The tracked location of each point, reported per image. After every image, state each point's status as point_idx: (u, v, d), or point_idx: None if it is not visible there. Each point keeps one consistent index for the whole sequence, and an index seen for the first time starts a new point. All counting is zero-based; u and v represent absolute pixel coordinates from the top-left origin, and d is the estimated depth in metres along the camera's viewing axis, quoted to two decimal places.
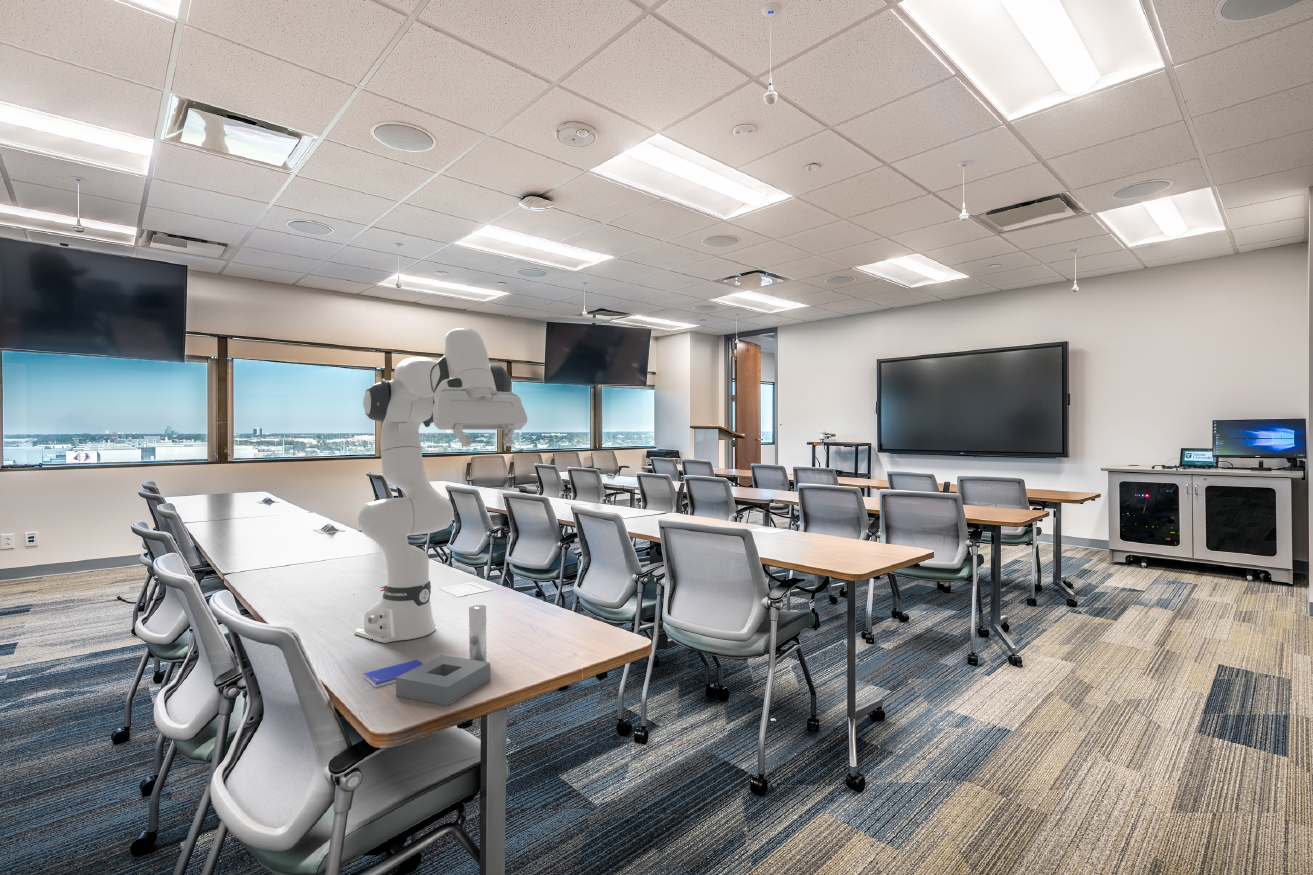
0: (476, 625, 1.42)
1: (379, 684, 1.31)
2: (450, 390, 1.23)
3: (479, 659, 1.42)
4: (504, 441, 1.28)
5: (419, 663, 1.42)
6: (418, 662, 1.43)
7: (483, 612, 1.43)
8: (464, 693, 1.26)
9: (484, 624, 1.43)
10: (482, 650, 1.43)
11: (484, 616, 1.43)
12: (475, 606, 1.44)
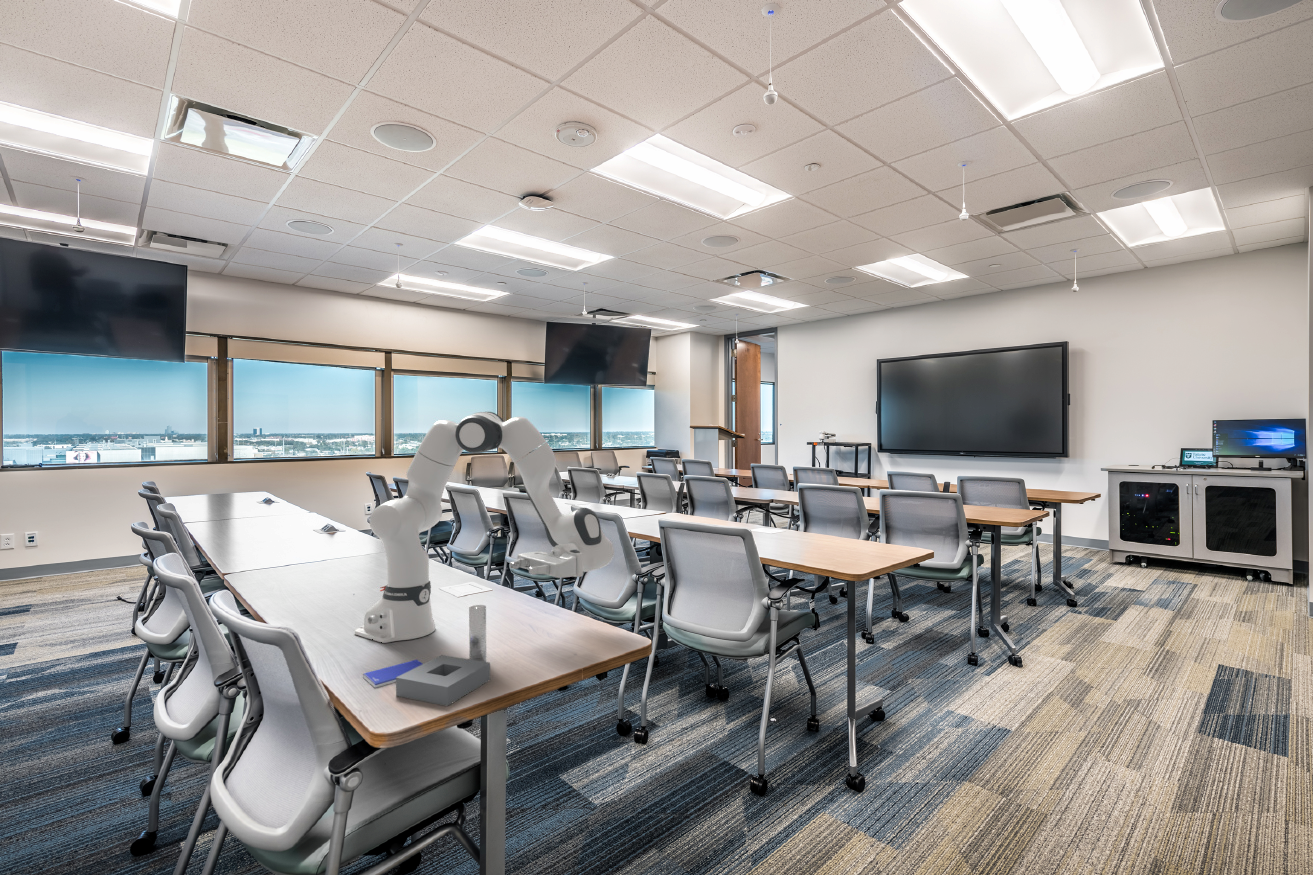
0: (476, 625, 1.42)
1: (379, 685, 1.31)
2: None
3: (479, 659, 1.42)
4: (515, 564, 1.56)
5: (419, 663, 1.42)
6: (418, 662, 1.43)
7: (483, 612, 1.43)
8: (464, 693, 1.26)
9: (484, 624, 1.43)
10: (482, 650, 1.43)
11: (484, 616, 1.43)
12: (475, 606, 1.44)
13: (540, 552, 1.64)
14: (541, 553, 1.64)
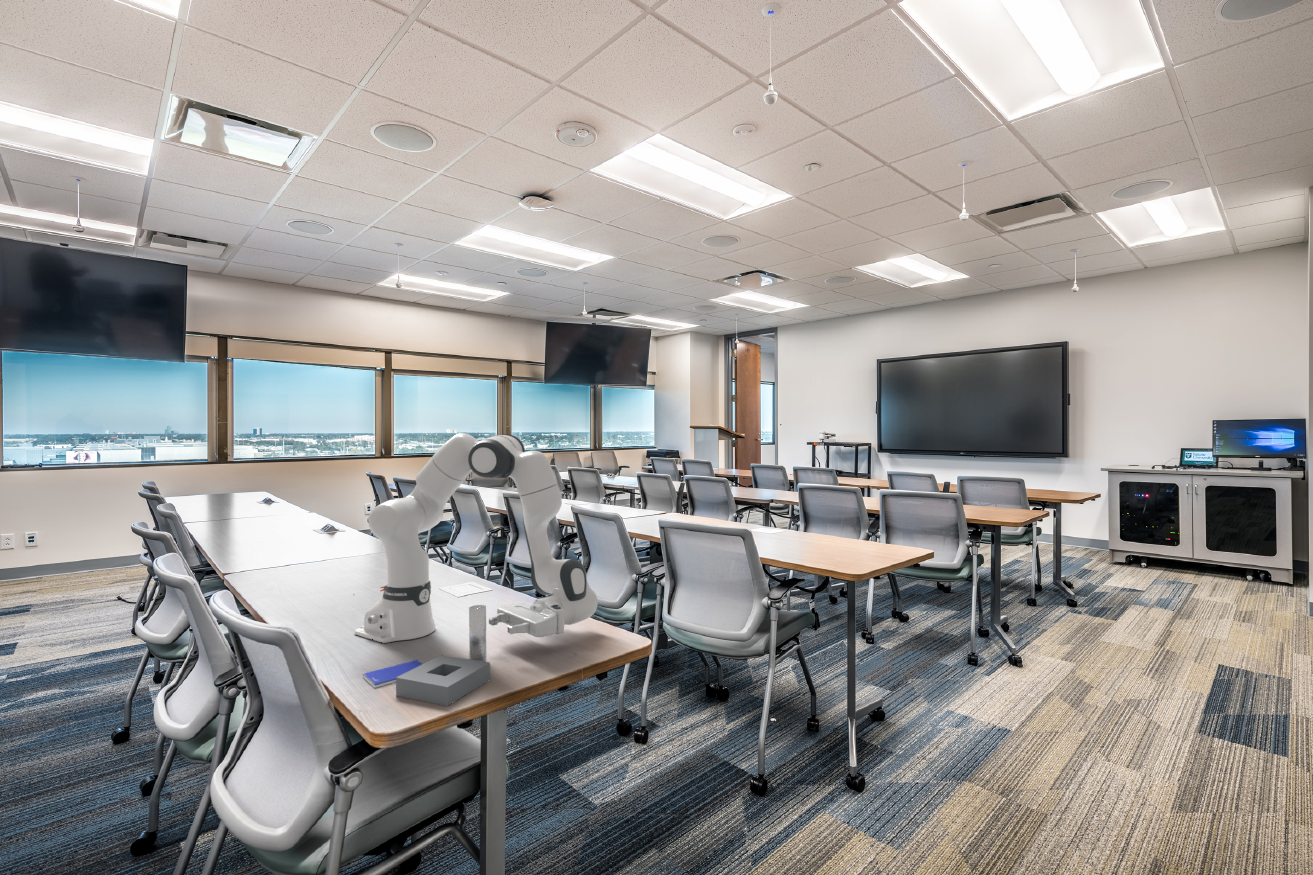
0: (476, 625, 1.42)
1: (378, 685, 1.31)
2: None
3: (479, 659, 1.42)
4: (495, 620, 1.52)
5: (419, 663, 1.42)
6: (418, 662, 1.42)
7: (483, 612, 1.43)
8: (464, 693, 1.26)
9: (484, 624, 1.43)
10: (482, 650, 1.43)
11: (484, 616, 1.43)
12: (475, 606, 1.44)
13: (521, 605, 1.60)
14: (522, 606, 1.59)
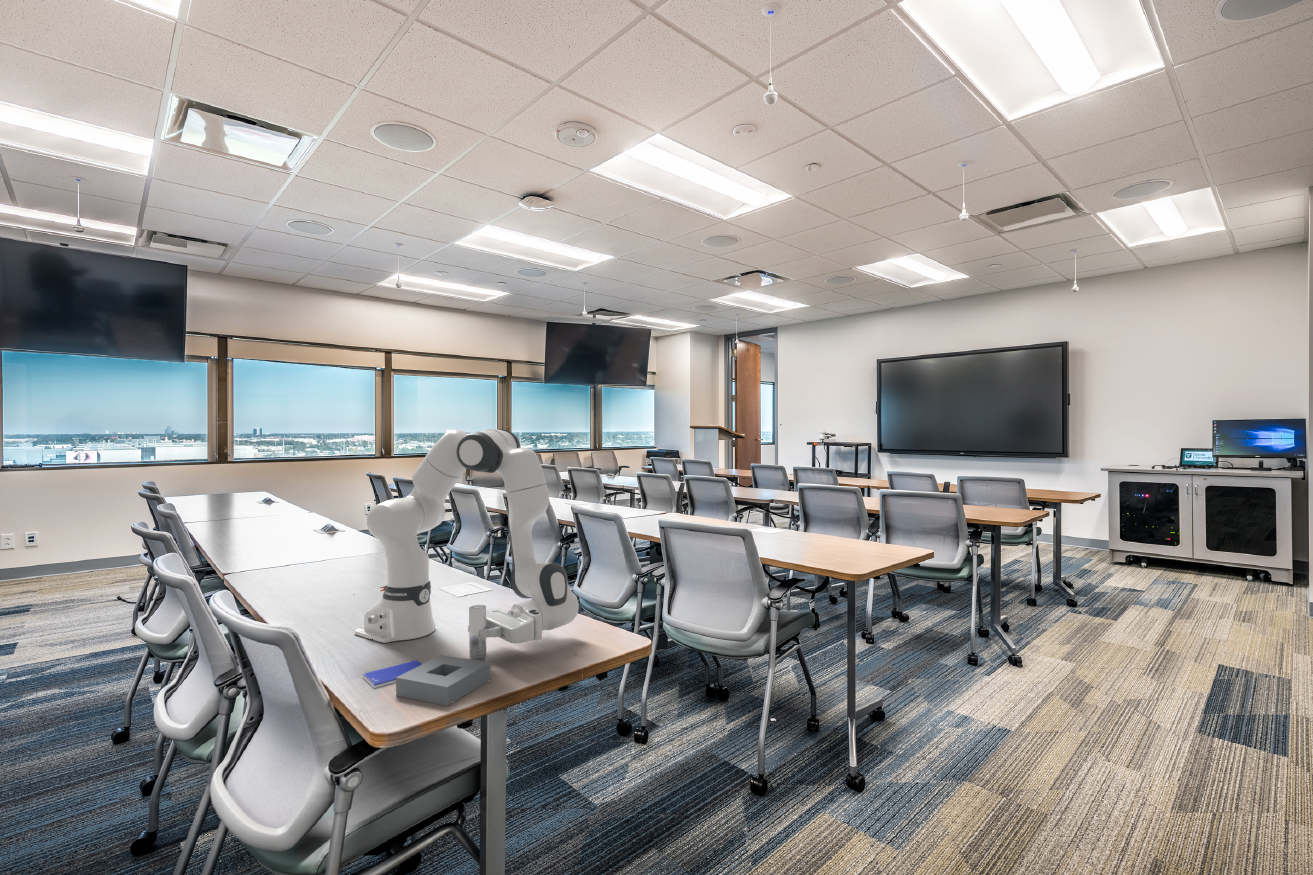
0: (476, 625, 1.42)
1: (378, 685, 1.31)
2: None
3: (479, 659, 1.42)
4: None
5: (419, 664, 1.42)
6: (418, 663, 1.42)
7: (483, 612, 1.43)
8: (464, 693, 1.26)
9: (484, 624, 1.43)
10: (482, 650, 1.43)
11: (484, 616, 1.43)
12: (475, 606, 1.44)
13: (499, 610, 1.55)
14: (500, 611, 1.54)
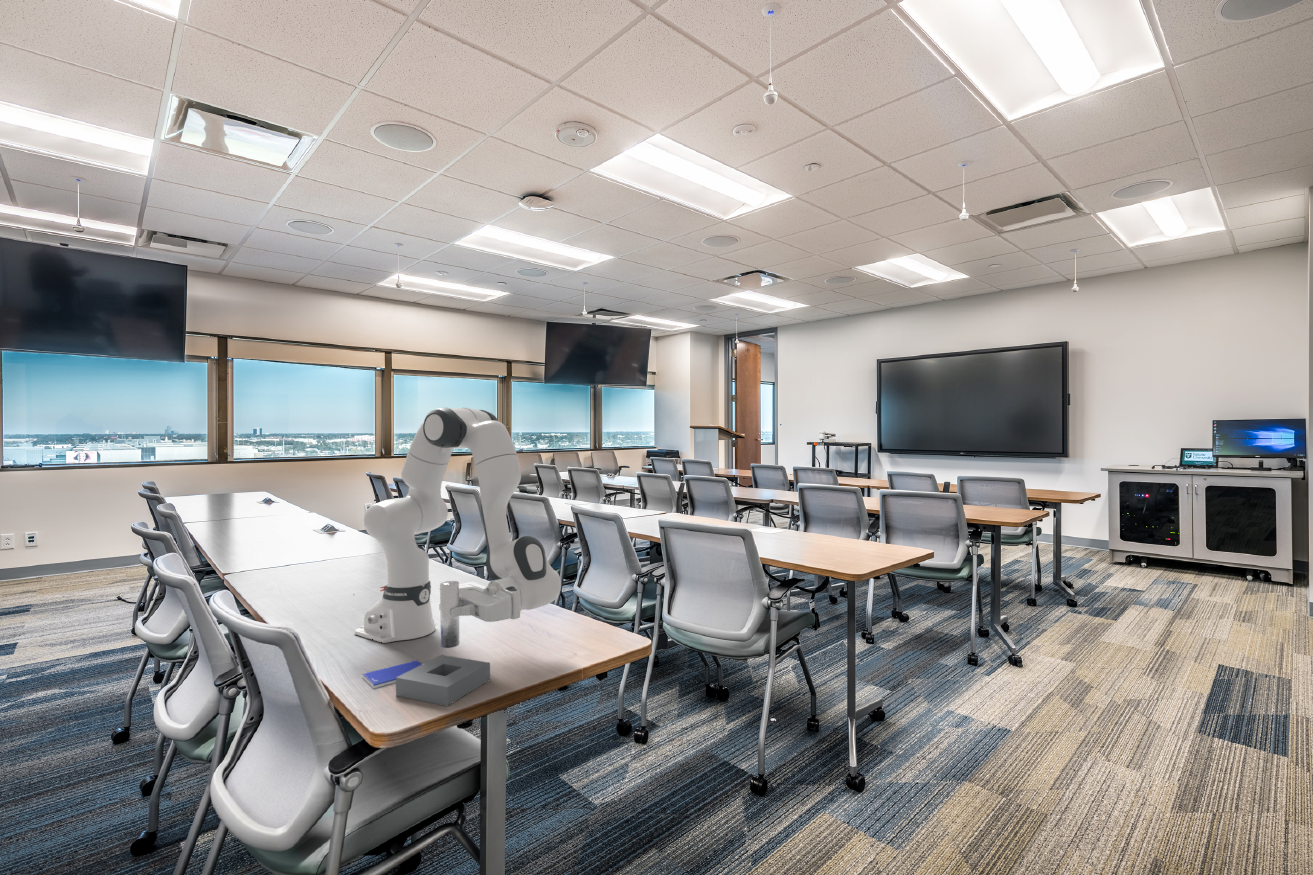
0: (448, 602, 1.30)
1: (378, 685, 1.31)
2: None
3: (451, 639, 1.30)
4: None
5: (419, 664, 1.41)
6: (418, 663, 1.42)
7: (455, 589, 1.31)
8: (464, 693, 1.26)
9: (456, 601, 1.31)
10: (454, 629, 1.31)
11: (456, 593, 1.31)
12: (446, 582, 1.32)
13: (474, 588, 1.43)
14: (475, 589, 1.42)
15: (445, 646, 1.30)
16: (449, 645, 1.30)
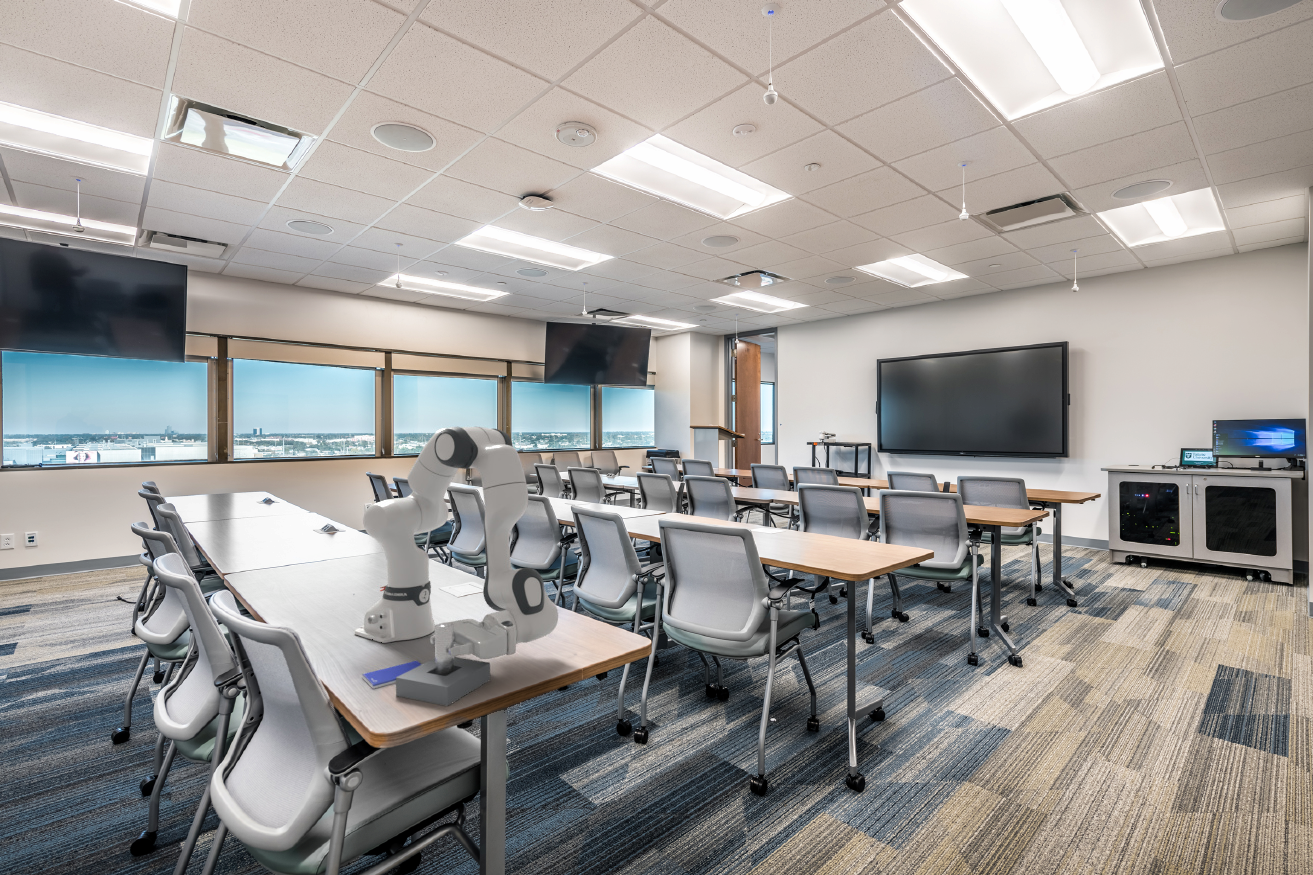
0: (442, 645, 1.28)
1: (377, 686, 1.31)
2: None
3: None
4: None
5: (418, 664, 1.41)
6: (417, 663, 1.42)
7: (450, 631, 1.29)
8: (464, 693, 1.26)
9: (451, 644, 1.29)
10: (449, 672, 1.29)
11: (451, 635, 1.29)
12: (441, 624, 1.30)
13: (470, 621, 1.42)
14: (471, 622, 1.41)
15: None
16: None
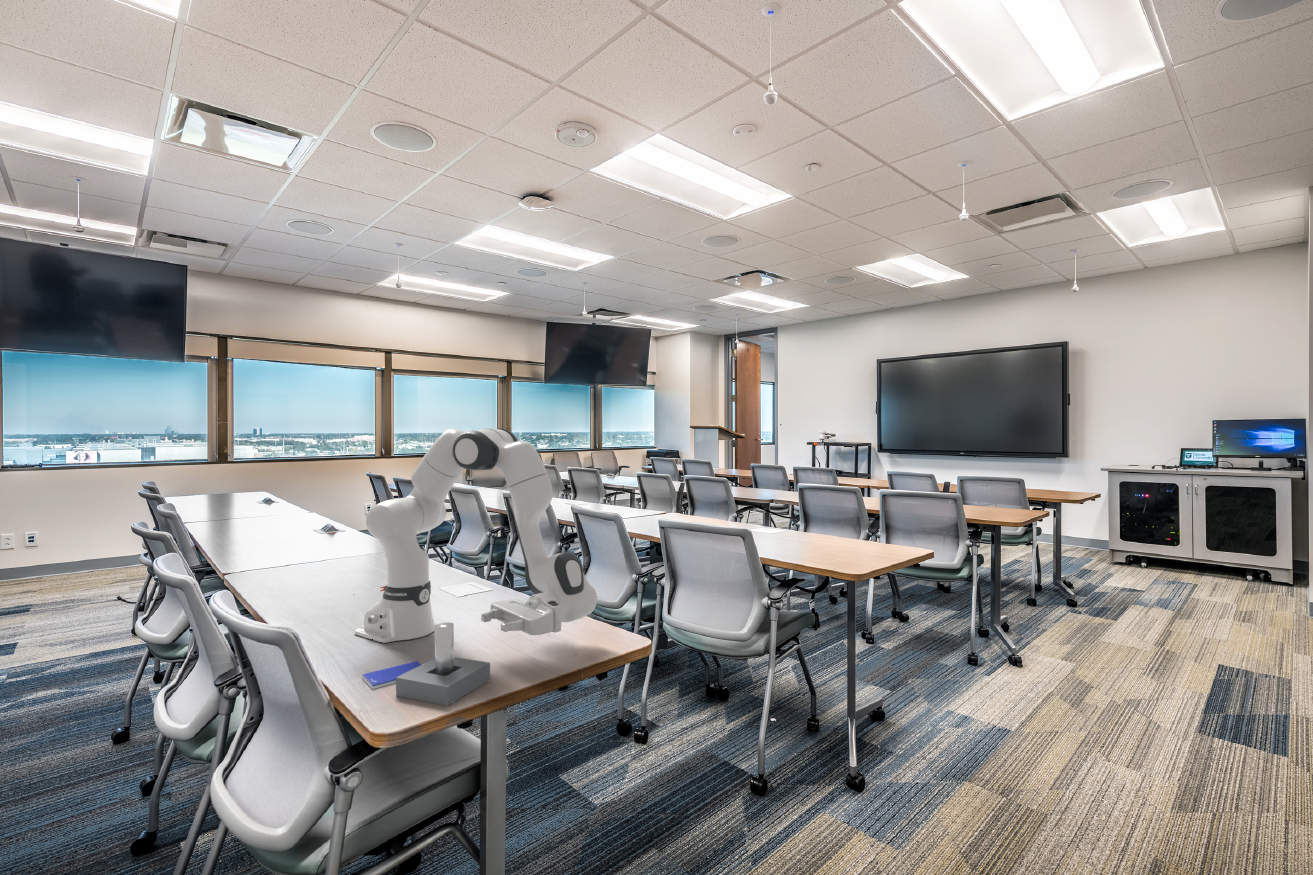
0: (442, 645, 1.28)
1: (376, 686, 1.30)
2: None
3: None
4: (487, 616, 1.42)
5: (418, 665, 1.41)
6: (417, 664, 1.42)
7: (450, 631, 1.29)
8: (464, 693, 1.26)
9: (451, 644, 1.29)
10: (449, 672, 1.29)
11: (451, 635, 1.29)
12: (441, 624, 1.30)
13: (516, 601, 1.51)
14: (517, 602, 1.50)
15: None
16: None
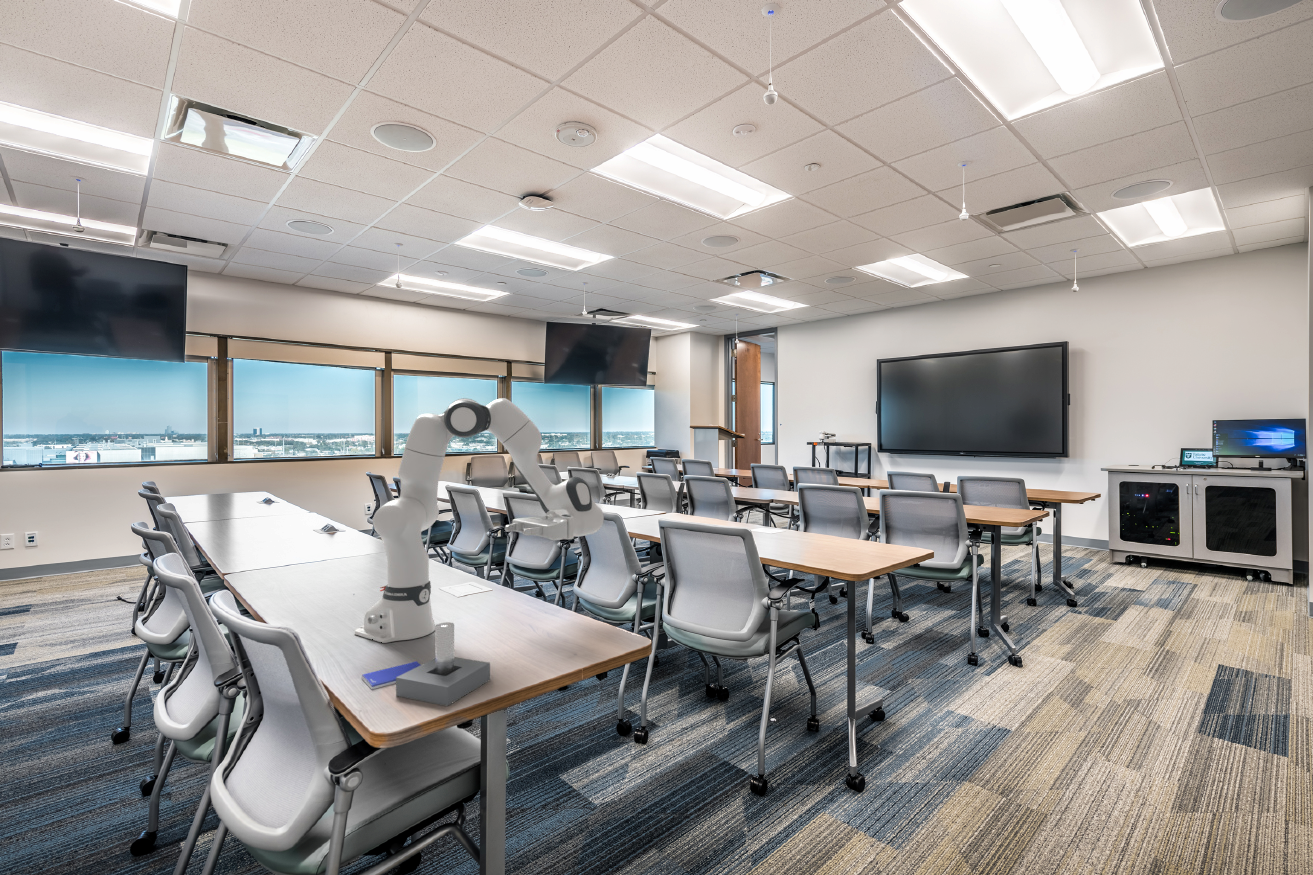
0: (443, 645, 1.28)
1: (376, 686, 1.30)
2: None
3: None
4: (510, 527, 1.66)
5: (418, 665, 1.41)
6: (417, 664, 1.41)
7: (451, 631, 1.29)
8: (464, 693, 1.26)
9: (452, 644, 1.29)
10: (449, 672, 1.29)
11: (452, 635, 1.29)
12: (442, 624, 1.30)
13: (534, 518, 1.75)
14: (535, 518, 1.74)
15: None
16: None
